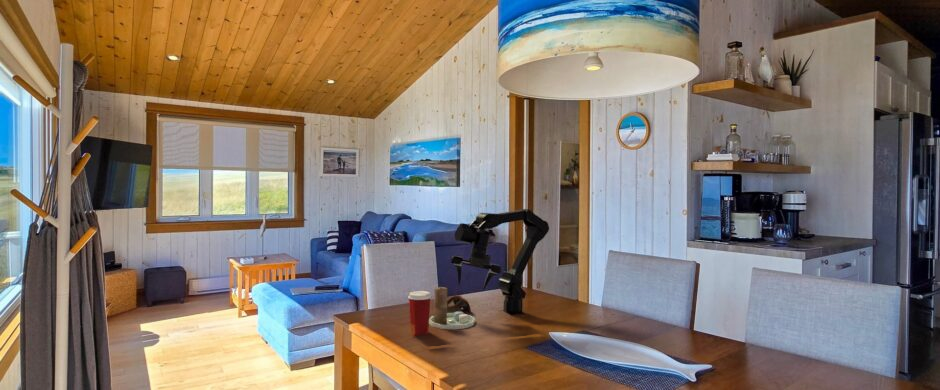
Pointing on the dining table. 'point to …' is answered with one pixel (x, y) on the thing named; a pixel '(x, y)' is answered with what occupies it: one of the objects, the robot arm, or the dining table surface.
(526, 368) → the dining table surface
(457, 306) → the brown hollow cylinder
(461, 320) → the cream round bead
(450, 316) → the green tray
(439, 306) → the pepper grinder
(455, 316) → the blue-grey rounded piece
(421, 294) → the paper cup
